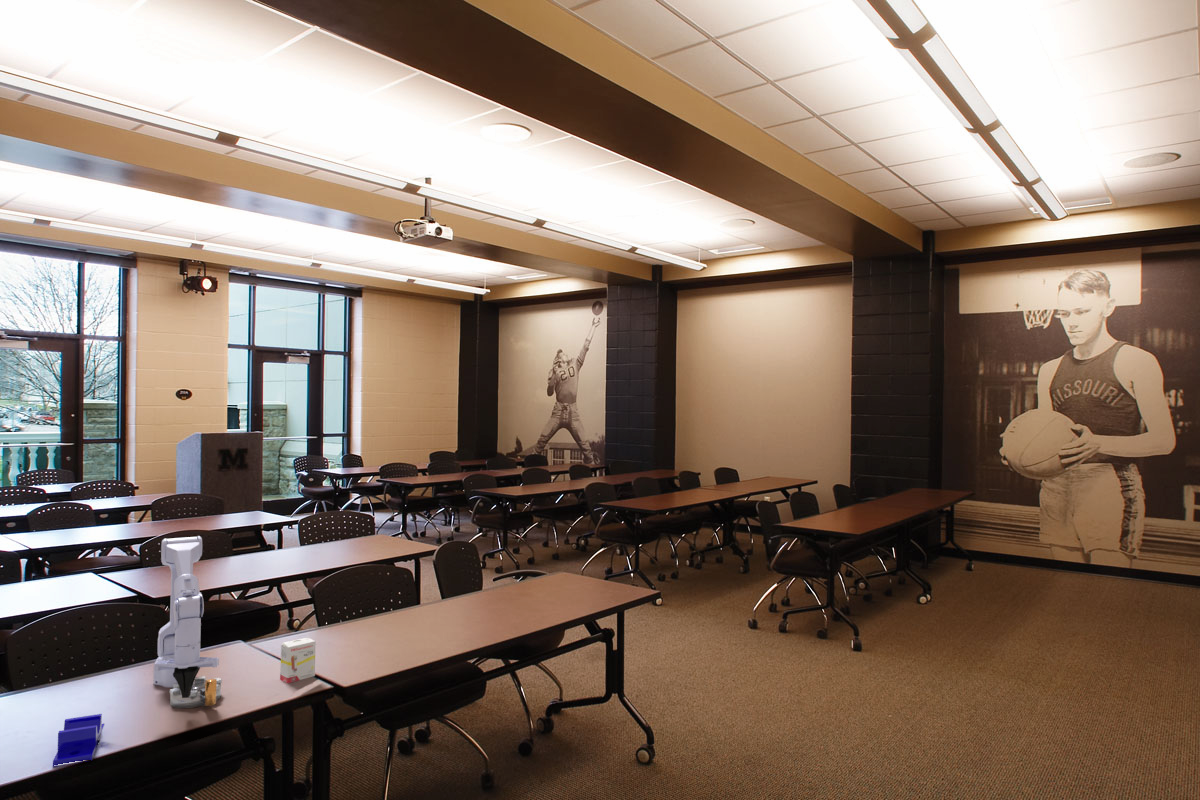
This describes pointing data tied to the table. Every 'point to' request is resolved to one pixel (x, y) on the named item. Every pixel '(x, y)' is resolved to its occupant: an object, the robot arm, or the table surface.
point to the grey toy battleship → (197, 693)
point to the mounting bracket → (78, 739)
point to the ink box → (297, 660)
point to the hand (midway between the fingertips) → (186, 696)
